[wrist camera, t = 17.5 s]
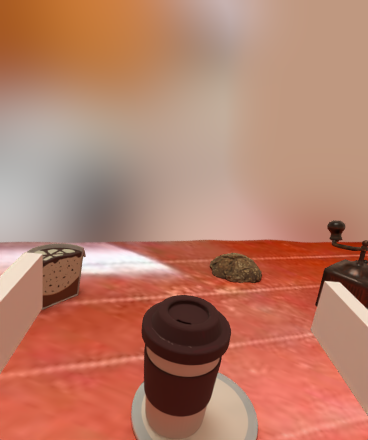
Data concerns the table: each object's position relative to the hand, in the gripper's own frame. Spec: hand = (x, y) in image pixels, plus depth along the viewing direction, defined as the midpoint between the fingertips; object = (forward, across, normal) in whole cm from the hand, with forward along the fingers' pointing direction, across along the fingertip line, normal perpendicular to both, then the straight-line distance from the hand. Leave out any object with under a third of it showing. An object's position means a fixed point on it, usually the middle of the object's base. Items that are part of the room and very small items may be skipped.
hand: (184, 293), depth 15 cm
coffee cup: (+18, +3, -28) cm, 33 cm away
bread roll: (+64, +20, -29) cm, 73 cm away
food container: (+45, -21, -29) cm, 57 cm away
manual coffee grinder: (+51, +41, -29) cm, 71 cm away
